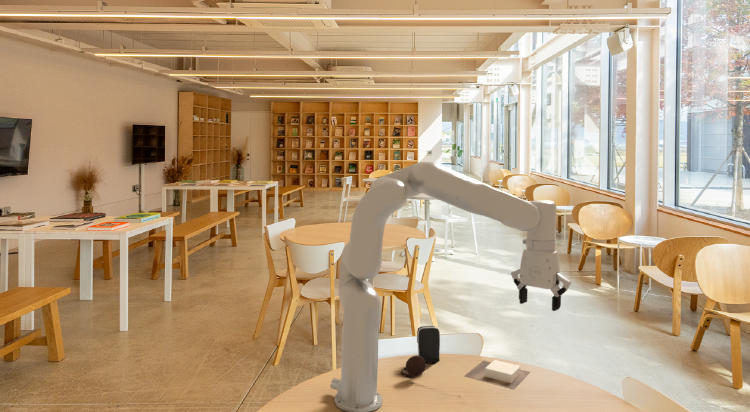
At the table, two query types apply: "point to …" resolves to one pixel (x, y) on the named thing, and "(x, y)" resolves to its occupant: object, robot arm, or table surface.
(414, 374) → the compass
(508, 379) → the coaster
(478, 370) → the board
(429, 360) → the battery charger
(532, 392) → the table surface
